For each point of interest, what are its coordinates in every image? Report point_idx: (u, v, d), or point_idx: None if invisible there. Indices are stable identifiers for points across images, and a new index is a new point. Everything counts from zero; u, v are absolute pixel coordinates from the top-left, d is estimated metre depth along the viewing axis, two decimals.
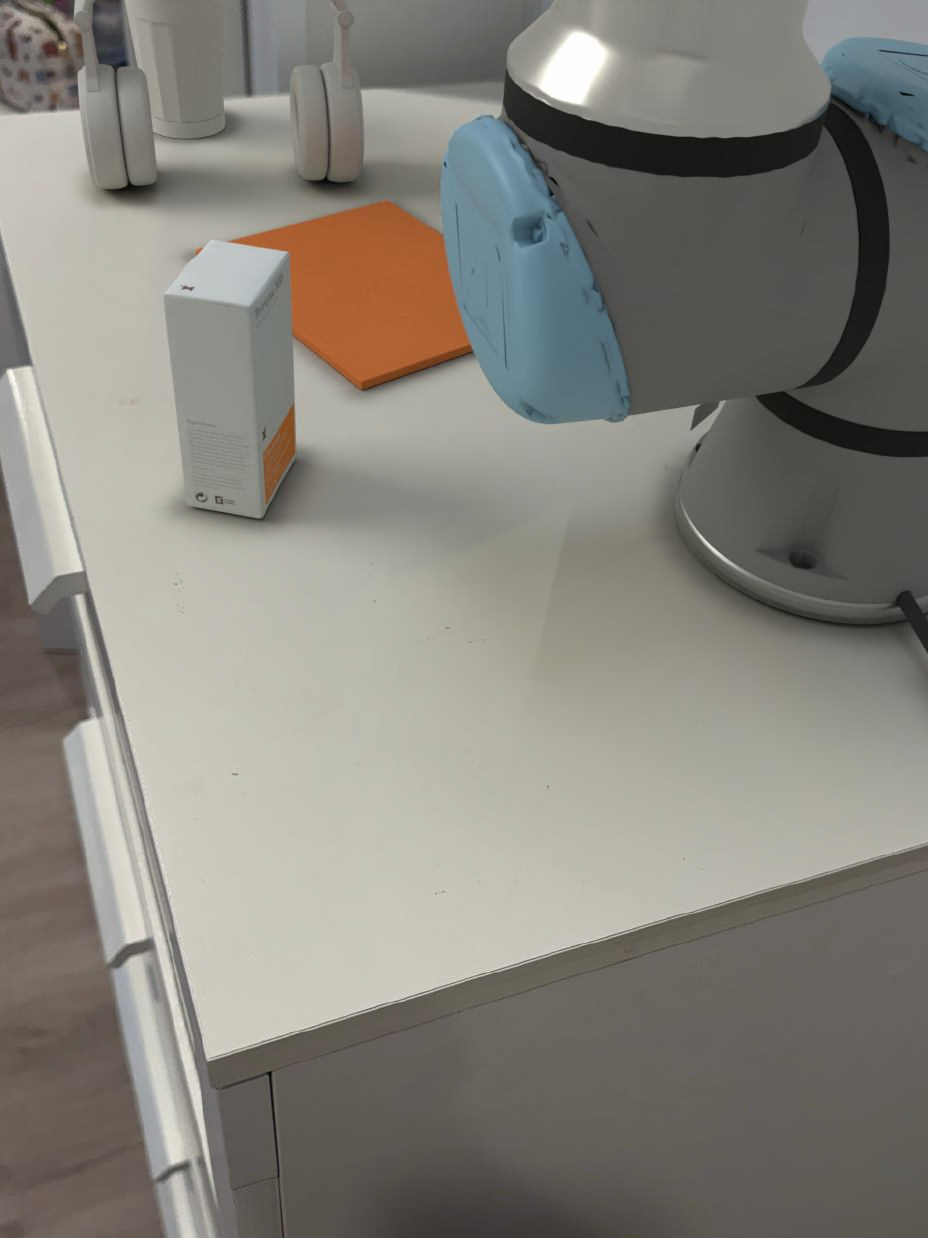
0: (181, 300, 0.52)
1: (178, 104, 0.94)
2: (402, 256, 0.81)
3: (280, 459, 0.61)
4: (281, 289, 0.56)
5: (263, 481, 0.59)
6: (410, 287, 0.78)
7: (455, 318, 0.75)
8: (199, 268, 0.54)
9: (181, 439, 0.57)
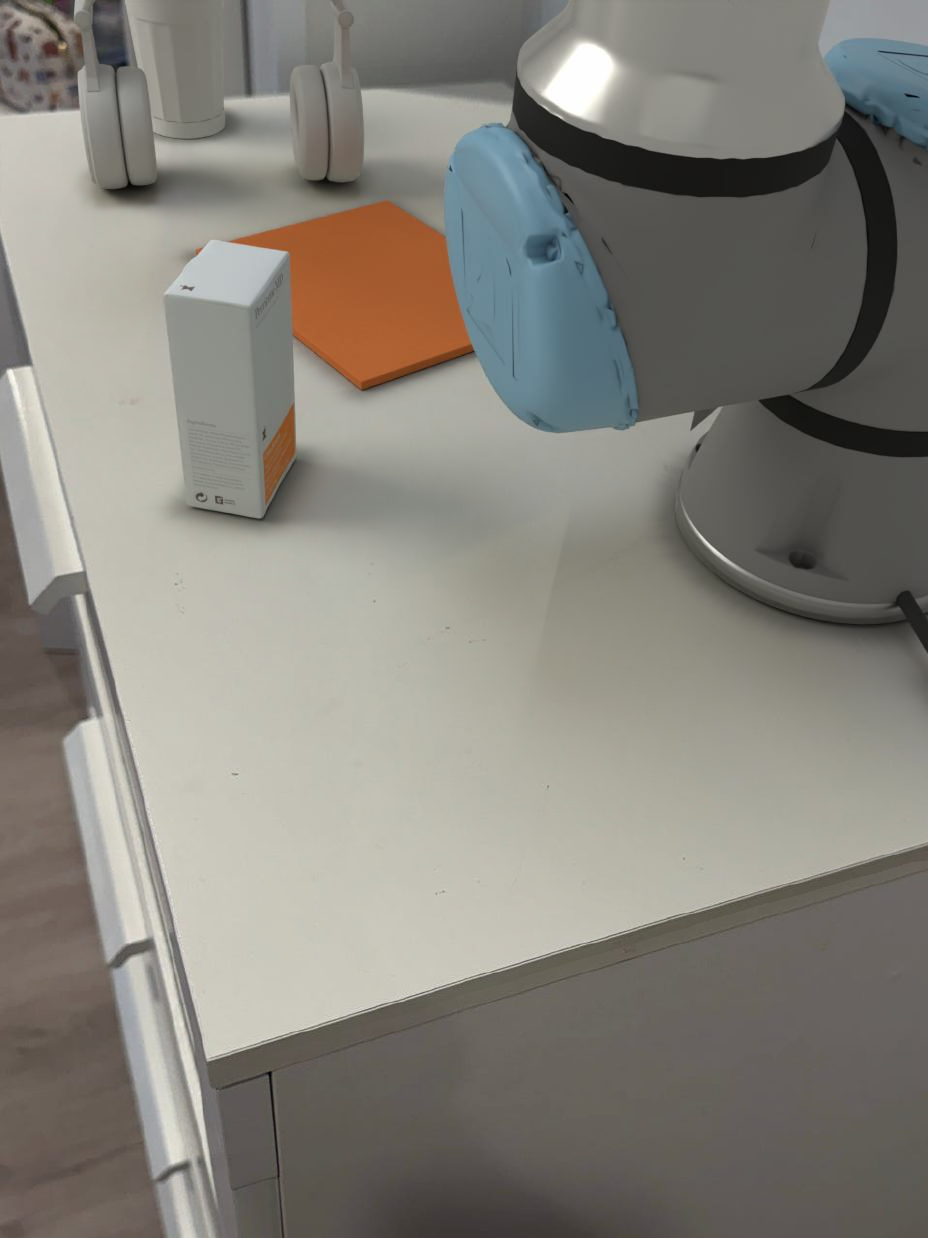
0: (181, 300, 0.52)
1: (178, 104, 0.94)
2: (402, 256, 0.81)
3: (280, 459, 0.61)
4: (281, 289, 0.56)
5: (263, 480, 0.59)
6: (410, 287, 0.78)
7: (455, 318, 0.75)
8: (199, 268, 0.54)
9: (181, 439, 0.57)
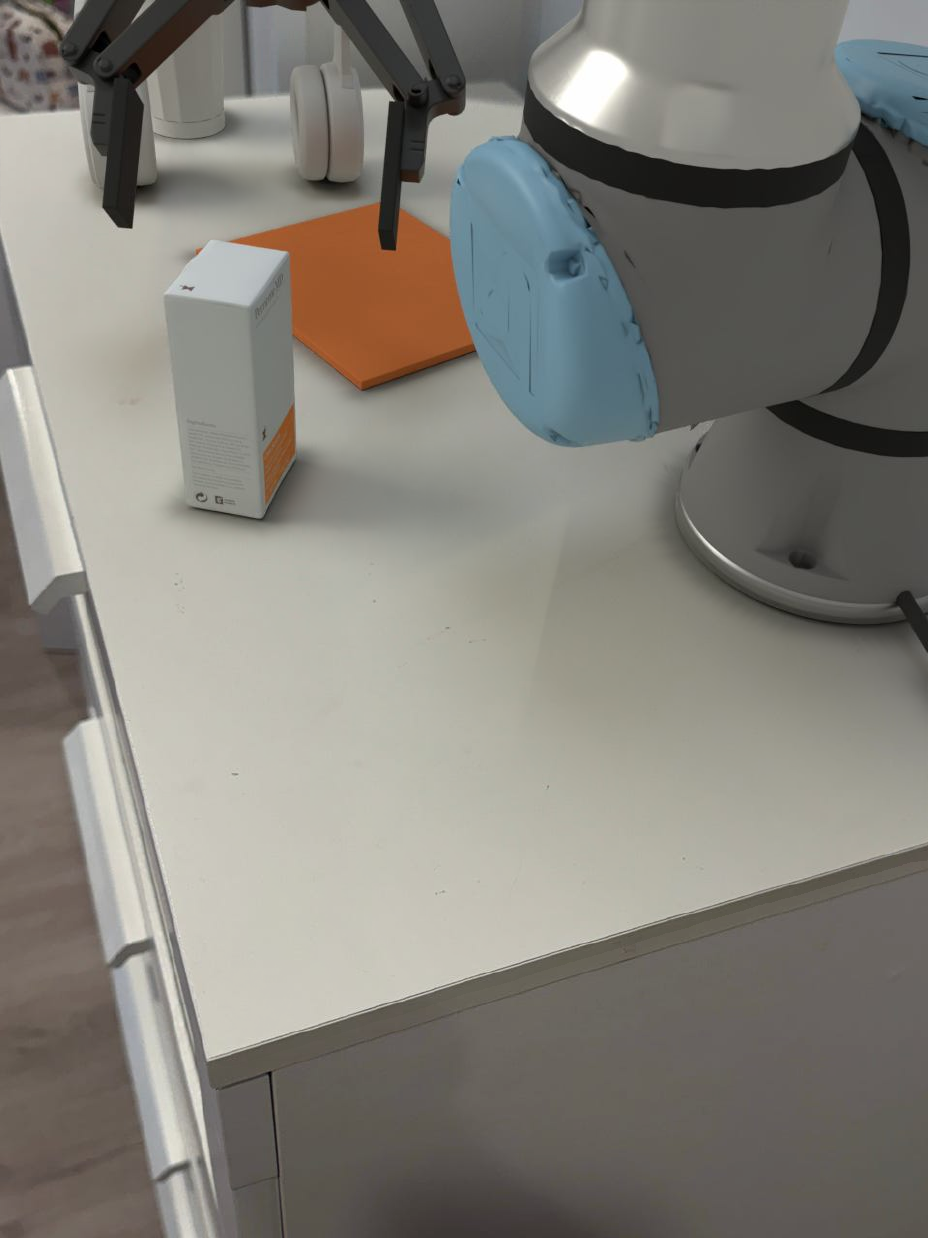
0: (181, 300, 0.52)
1: (178, 104, 0.94)
2: (402, 256, 0.81)
3: (280, 459, 0.61)
4: (281, 289, 0.56)
5: (263, 481, 0.59)
6: (410, 287, 0.78)
7: (455, 318, 0.75)
8: (199, 268, 0.54)
9: (181, 439, 0.57)
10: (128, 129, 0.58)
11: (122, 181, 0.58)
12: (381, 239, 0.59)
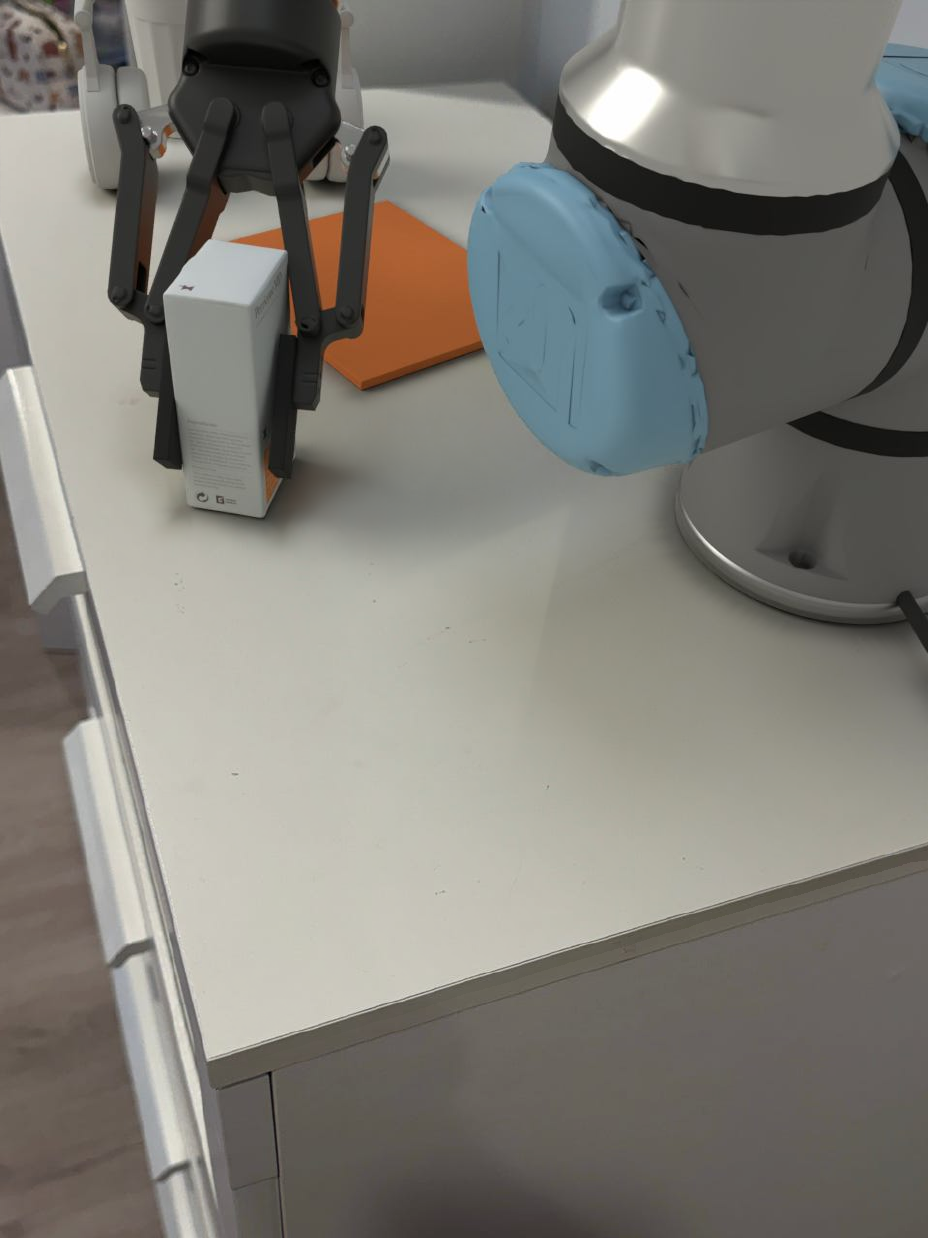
0: (181, 300, 0.52)
1: None
2: (402, 256, 0.81)
3: None
4: (280, 288, 0.56)
5: (264, 480, 0.59)
6: (410, 287, 0.78)
7: (455, 318, 0.75)
8: (198, 268, 0.54)
9: (182, 439, 0.57)
10: None
11: (173, 430, 0.56)
12: (273, 473, 0.57)
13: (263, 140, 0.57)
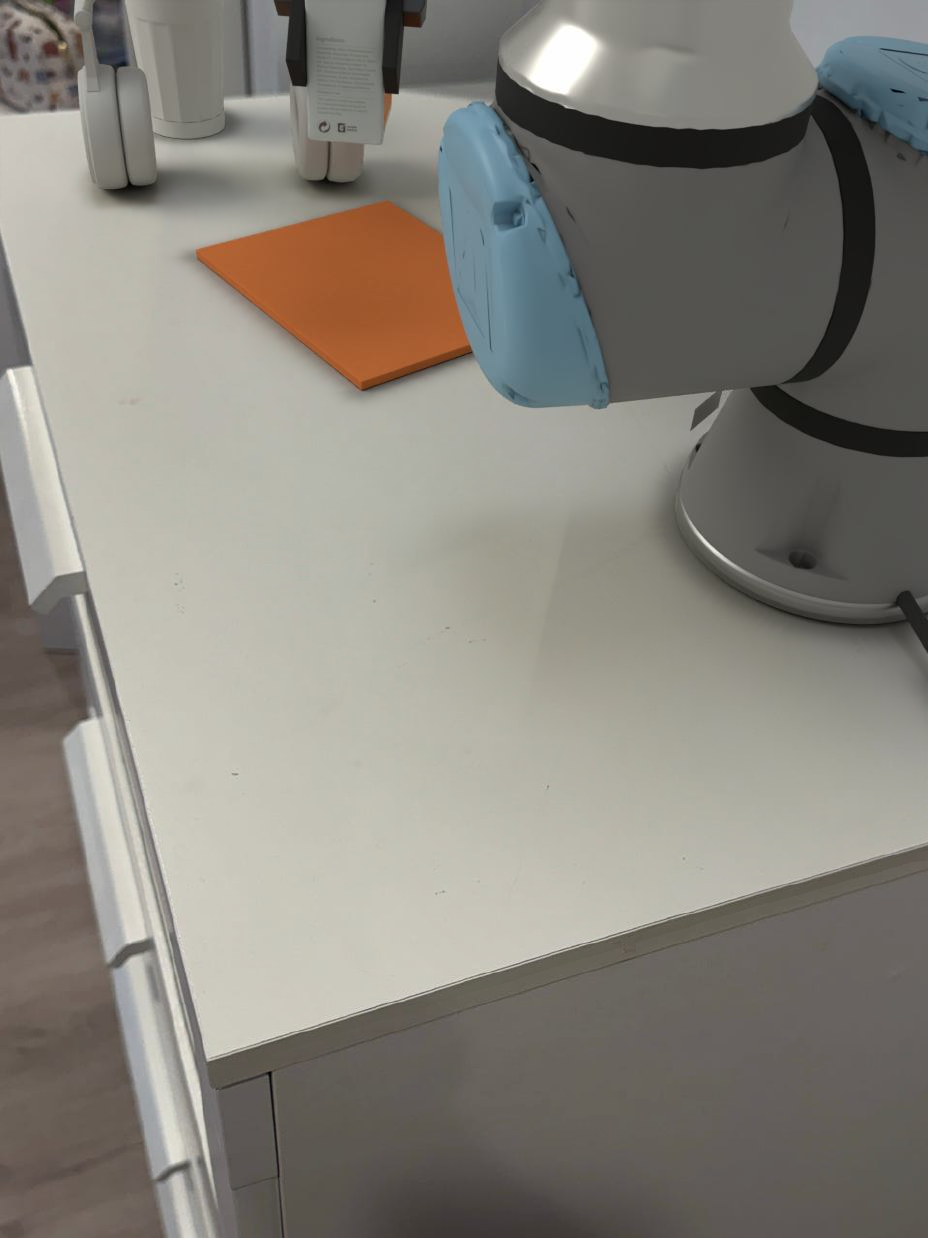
0: None
1: (178, 104, 0.94)
2: (402, 256, 0.81)
3: (388, 94, 0.66)
4: None
5: (384, 102, 0.64)
6: (410, 287, 0.78)
7: (455, 318, 0.75)
8: None
9: (309, 61, 0.62)
10: None
11: (303, 36, 0.61)
12: (385, 79, 0.61)
13: None
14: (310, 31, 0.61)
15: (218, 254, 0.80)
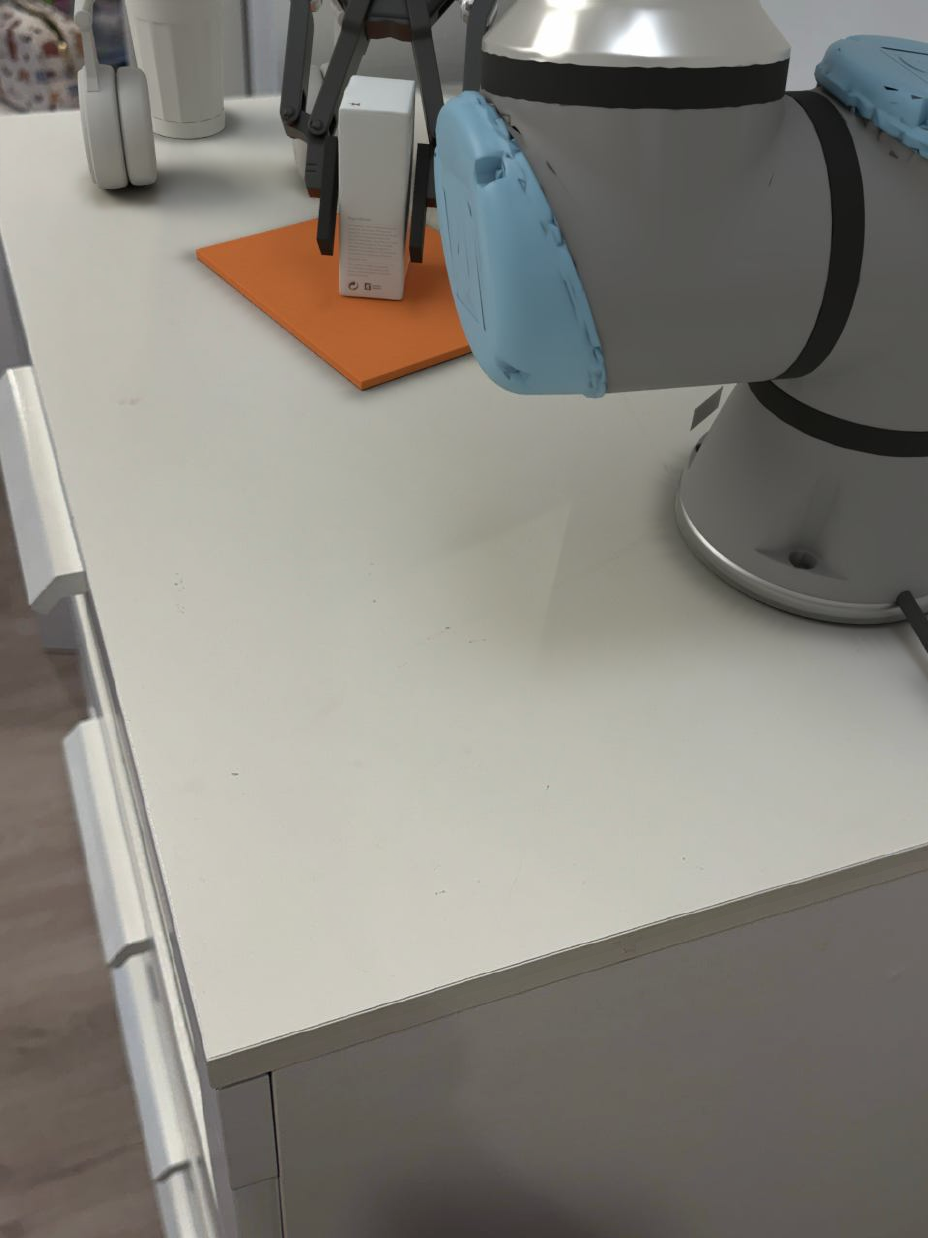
0: (353, 112, 0.68)
1: (178, 104, 0.94)
2: None
3: (407, 254, 0.77)
4: None
5: (403, 266, 0.75)
6: (410, 287, 0.78)
7: (455, 318, 0.75)
8: (355, 92, 0.70)
9: (341, 235, 0.74)
10: (335, 176, 0.73)
11: (331, 218, 0.72)
12: (411, 254, 0.73)
13: None
14: (343, 212, 0.73)
15: (218, 254, 0.80)
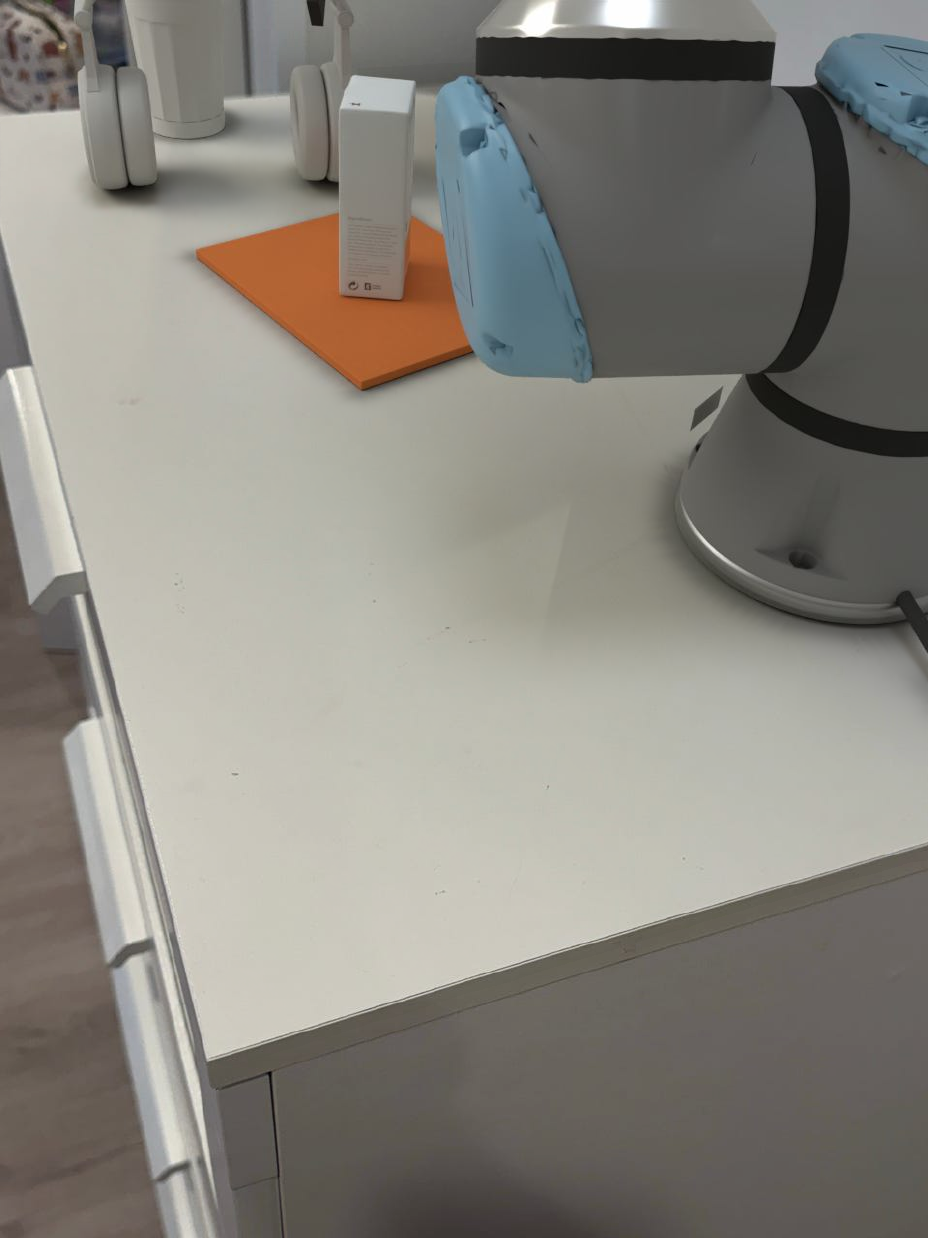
0: (354, 112, 0.68)
1: (178, 104, 0.94)
2: None
3: (407, 254, 0.77)
4: None
5: (404, 266, 0.75)
6: (410, 287, 0.78)
7: (455, 318, 0.75)
8: (356, 92, 0.70)
9: (341, 235, 0.74)
10: None
11: None
12: None
13: None
14: (343, 212, 0.73)
15: (218, 254, 0.80)
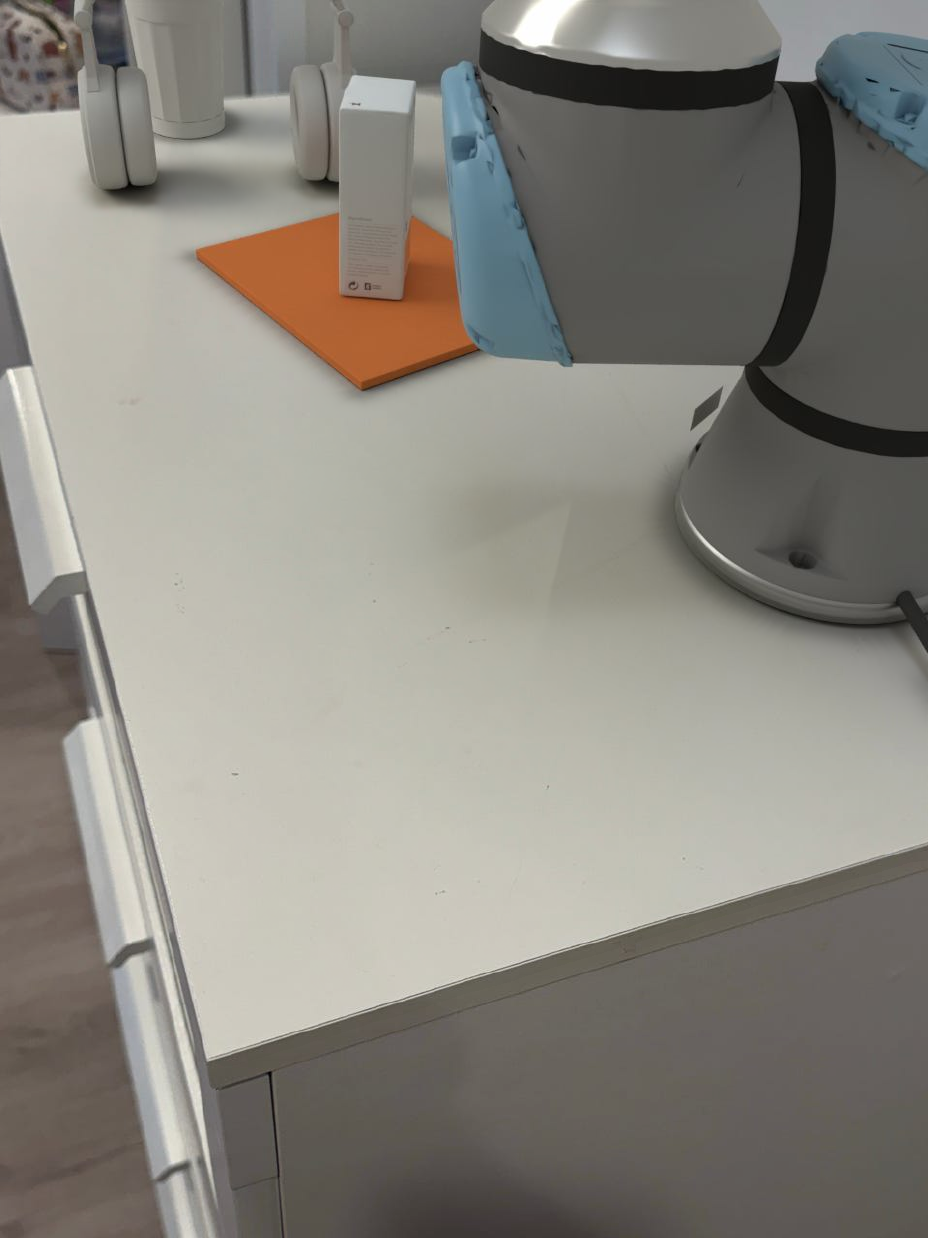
0: (354, 112, 0.68)
1: (178, 104, 0.94)
2: None
3: (407, 255, 0.77)
4: (414, 109, 0.72)
5: (404, 266, 0.75)
6: (410, 287, 0.78)
7: (455, 318, 0.75)
8: (356, 92, 0.70)
9: (341, 234, 0.74)
10: None
11: None
12: None
13: None
14: (343, 212, 0.73)
15: (218, 254, 0.80)
